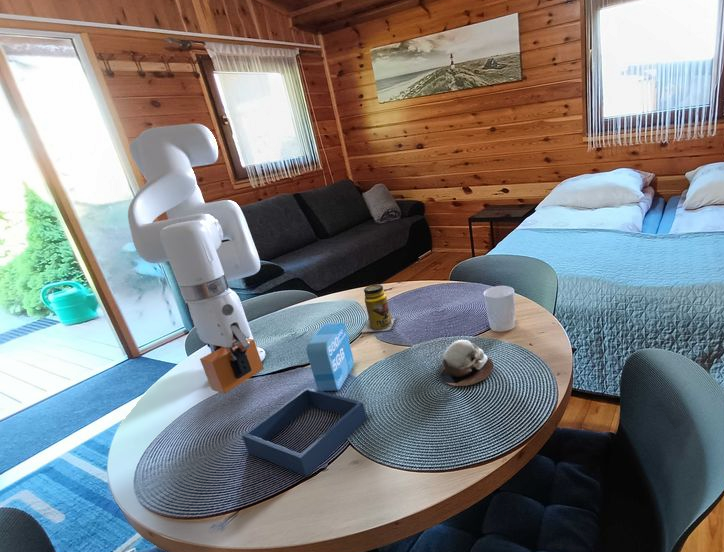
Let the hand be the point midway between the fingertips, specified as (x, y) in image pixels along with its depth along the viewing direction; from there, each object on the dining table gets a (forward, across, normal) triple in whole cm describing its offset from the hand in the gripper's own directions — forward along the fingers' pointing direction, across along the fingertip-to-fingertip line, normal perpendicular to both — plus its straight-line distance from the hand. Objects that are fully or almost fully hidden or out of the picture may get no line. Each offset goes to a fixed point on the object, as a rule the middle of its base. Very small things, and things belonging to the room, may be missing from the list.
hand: (236, 371), depth 87 cm
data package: (+11, -8, -17) cm, 22 cm away
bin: (+11, -17, 0) cm, 20 cm away
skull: (+11, -36, -29) cm, 47 cm away
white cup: (+11, -35, -51) cm, 63 cm away
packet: (+2, 0, 0) cm, 2 cm away
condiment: (+11, 0, -42) cm, 44 cm away
